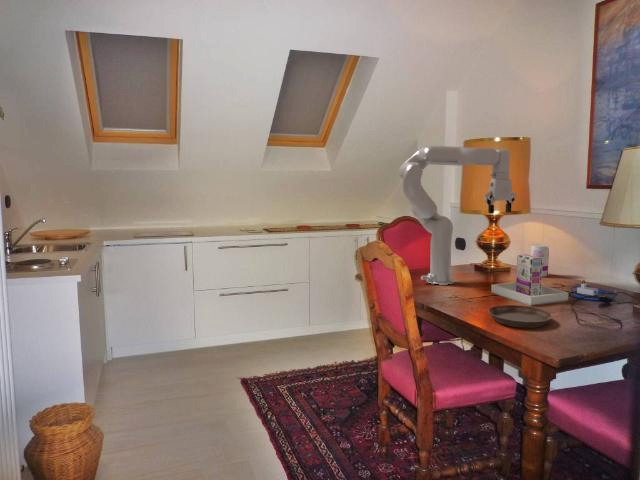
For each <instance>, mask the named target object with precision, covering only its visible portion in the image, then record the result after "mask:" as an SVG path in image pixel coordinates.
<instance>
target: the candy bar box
mask: <svg viewBox="0 0 640 480" xmlns="http://www.w3.org/2000/svg"><path fill="white" fill-rule="evenodd" d="M516 257H517V258H516V281H515V282H516V292H519V293H522V294H525V295H529V296H538V295H540V290H541V285H542V284H541V283H542V277H541V267H542V258H538V257H535V256H531V254H516Z"/></svg>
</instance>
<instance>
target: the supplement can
mask: <svg viewBox="0 0 640 480" xmlns="http://www.w3.org/2000/svg"><path fill="white" fill-rule="evenodd" d="M549 253H550V248H549V246H548V245H546V244H532V246H531V248H530V255H531V256H535V257H538V258H542V267H541V278H545V277H547V276H549V258H550V255H549Z"/></svg>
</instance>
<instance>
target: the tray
mask: <svg viewBox="0 0 640 480" xmlns="http://www.w3.org/2000/svg"><path fill="white" fill-rule="evenodd" d="M490 285H491V288H490V289H491V290H490V291H491V293H492V294H494V295H498V296H500V297H503V298H506V299H509V300H513V301H516V302H518V303H520V304H524V305H525V306H528V307H533V306H540V305H541V306H543V305H548V304H549V305H550V304H556V303H557V304H558V303H565V302H568V301H569V292H568V291H564V290H560V289H556V288H553V287H550V286H549V287H548V286H544V285H542V284H541V290H540V295H538V296H529V295H525V294H522V293H519V292H516V281H514V282H513V281H512V282H504V283H503V282H502V283H494V284H490Z"/></svg>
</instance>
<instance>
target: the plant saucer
mask: <svg viewBox="0 0 640 480" xmlns="http://www.w3.org/2000/svg"><path fill="white" fill-rule="evenodd" d="M488 313H489V315H490V316H491V317H492V319H493V320H495V322H497V323H499V324H501V325H504V326H509V327H513V328H521V329H522V328H523V329H524V328H525V329H526V328H527V329H531V328H532V329H533V328H539V327H543V326H544V325H547V324H548V323H549V322H550V321H551V320H552V318H553V315H552V314H551V313H550V312H548V311H546V310H544V309H541V308H537V307H533V306H528V305H516V304H513V305H512V304H506V305H505V304H504V305H503V304H502V305H496V306H492V307H490V308H489V309H488Z"/></svg>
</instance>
